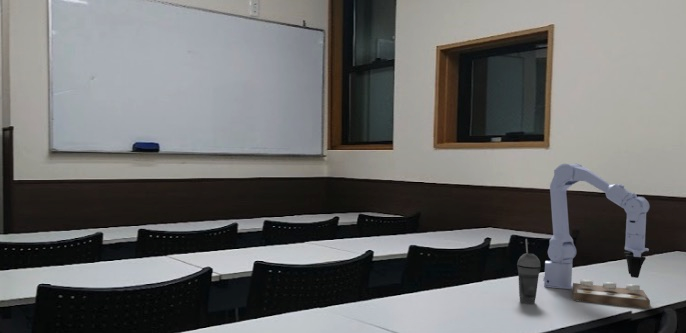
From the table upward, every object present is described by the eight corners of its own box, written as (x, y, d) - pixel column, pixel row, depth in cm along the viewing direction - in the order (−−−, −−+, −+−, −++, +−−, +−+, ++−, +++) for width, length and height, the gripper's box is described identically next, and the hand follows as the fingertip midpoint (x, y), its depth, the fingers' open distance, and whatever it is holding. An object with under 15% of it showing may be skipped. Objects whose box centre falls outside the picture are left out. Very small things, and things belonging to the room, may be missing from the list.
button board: (573, 300, 193) (574, 291, 193) (572, 290, 209) (573, 282, 208) (649, 308, 186) (649, 299, 186) (642, 297, 201) (643, 289, 201)
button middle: (603, 288, 196) (603, 283, 196) (602, 285, 200) (602, 281, 200) (616, 289, 195) (616, 284, 195) (615, 287, 198) (615, 282, 198)
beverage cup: (536, 306, 184) (538, 241, 183) (512, 302, 188) (515, 239, 187) (541, 301, 190) (544, 239, 189) (518, 298, 194) (521, 236, 193)
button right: (626, 290, 194) (627, 285, 194) (625, 288, 197) (625, 283, 197) (640, 292, 192) (640, 287, 192) (638, 289, 196) (639, 284, 196)
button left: (580, 286, 198) (580, 281, 198) (579, 283, 202) (580, 278, 202) (593, 287, 197) (593, 282, 197) (592, 284, 201) (592, 280, 201)
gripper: (652, 238, 186) (650, 281, 187) (646, 232, 200) (644, 272, 200) (627, 236, 189) (625, 278, 189) (622, 230, 202) (621, 270, 203)
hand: (633, 275), depth 195 cm, fingers open, 5 cm apart
